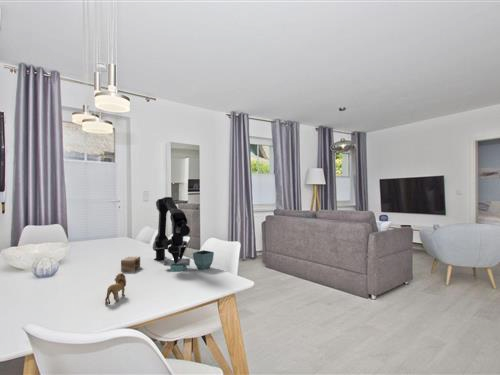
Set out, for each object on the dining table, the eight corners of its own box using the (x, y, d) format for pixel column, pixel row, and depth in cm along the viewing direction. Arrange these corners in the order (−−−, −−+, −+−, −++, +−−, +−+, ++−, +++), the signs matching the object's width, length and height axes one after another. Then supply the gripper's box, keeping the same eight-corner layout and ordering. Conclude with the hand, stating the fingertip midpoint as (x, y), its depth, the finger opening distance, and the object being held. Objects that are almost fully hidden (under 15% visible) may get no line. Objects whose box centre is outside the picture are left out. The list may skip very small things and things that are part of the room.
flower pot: (203, 270, 159) (203, 254, 159) (192, 268, 164) (192, 252, 164) (214, 267, 166) (214, 251, 166) (203, 265, 171) (203, 250, 171)
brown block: (128, 266, 169) (128, 256, 169) (140, 266, 169) (140, 256, 169) (121, 271, 160) (121, 260, 160) (133, 271, 160) (133, 260, 160)
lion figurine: (115, 293, 125) (115, 272, 125) (128, 292, 126) (128, 271, 126) (102, 306, 111) (102, 283, 111) (116, 305, 111) (116, 282, 111)
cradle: (174, 267, 167) (174, 262, 168) (186, 267, 167) (186, 262, 167) (170, 270, 159) (169, 266, 160) (182, 270, 159) (182, 266, 159)
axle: (166, 265, 165) (166, 258, 166) (190, 265, 165) (190, 258, 165) (163, 266, 161) (163, 258, 162) (188, 266, 161) (188, 258, 161)
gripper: (169, 231, 173) (169, 257, 173) (158, 236, 155) (158, 265, 154) (187, 231, 173) (187, 257, 173) (178, 236, 154) (178, 265, 154)
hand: (178, 261), depth 163 cm, fingers open, 9 cm apart
